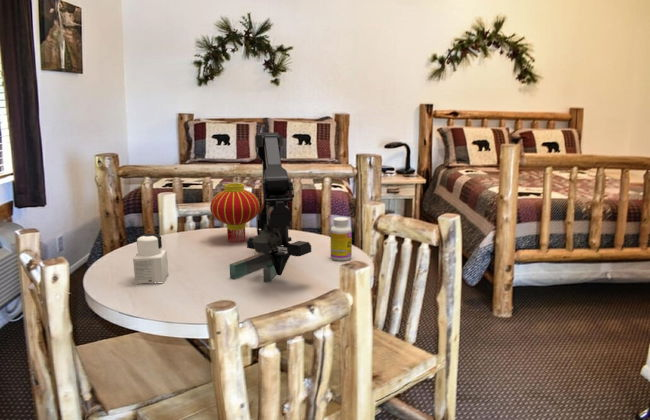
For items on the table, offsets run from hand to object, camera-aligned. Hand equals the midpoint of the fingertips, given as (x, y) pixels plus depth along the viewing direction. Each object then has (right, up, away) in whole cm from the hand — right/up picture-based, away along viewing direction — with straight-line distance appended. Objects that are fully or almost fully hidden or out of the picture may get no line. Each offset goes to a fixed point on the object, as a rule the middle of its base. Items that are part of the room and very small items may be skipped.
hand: (279, 275), depth 155 cm
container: (-36, -2, +3) cm, 36 cm away
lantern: (-19, +7, +43) cm, 48 cm away
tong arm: (-2, 0, +7) cm, 8 cm away
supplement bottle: (+18, +3, +21) cm, 28 cm away
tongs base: (-7, +1, +11) cm, 13 cm away
